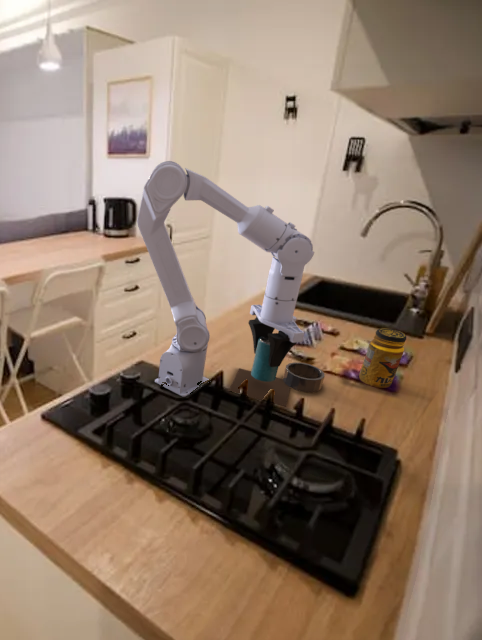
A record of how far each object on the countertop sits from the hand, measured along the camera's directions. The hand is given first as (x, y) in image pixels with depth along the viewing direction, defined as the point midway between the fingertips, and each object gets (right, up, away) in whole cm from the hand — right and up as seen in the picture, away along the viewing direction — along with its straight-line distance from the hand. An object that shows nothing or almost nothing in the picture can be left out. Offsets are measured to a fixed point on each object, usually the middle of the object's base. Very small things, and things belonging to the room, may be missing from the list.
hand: (266, 359), depth 82 cm
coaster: (0, -6, +3) cm, 7 cm away
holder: (+9, -6, +4) cm, 12 cm away
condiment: (+25, -5, +6) cm, 26 cm away
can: (0, -3, +2) cm, 4 cm away
